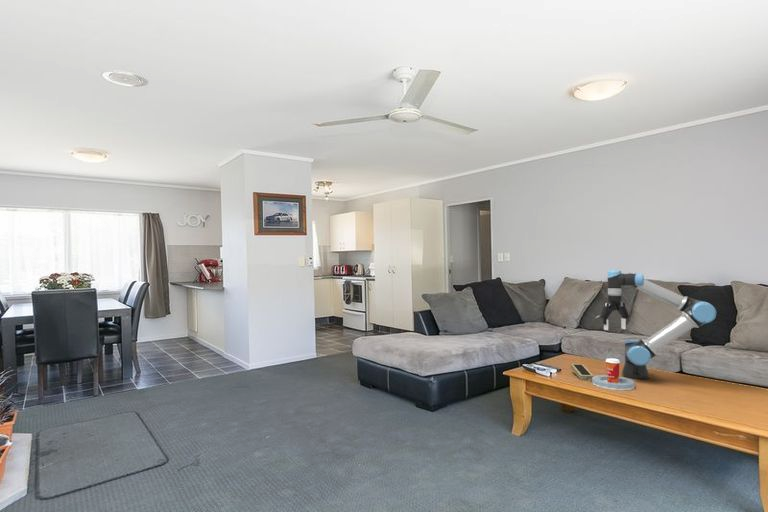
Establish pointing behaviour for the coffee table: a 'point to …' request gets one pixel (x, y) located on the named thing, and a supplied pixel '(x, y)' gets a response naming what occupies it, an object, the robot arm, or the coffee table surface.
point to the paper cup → (612, 370)
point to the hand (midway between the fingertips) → (614, 329)
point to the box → (582, 372)
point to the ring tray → (621, 385)
